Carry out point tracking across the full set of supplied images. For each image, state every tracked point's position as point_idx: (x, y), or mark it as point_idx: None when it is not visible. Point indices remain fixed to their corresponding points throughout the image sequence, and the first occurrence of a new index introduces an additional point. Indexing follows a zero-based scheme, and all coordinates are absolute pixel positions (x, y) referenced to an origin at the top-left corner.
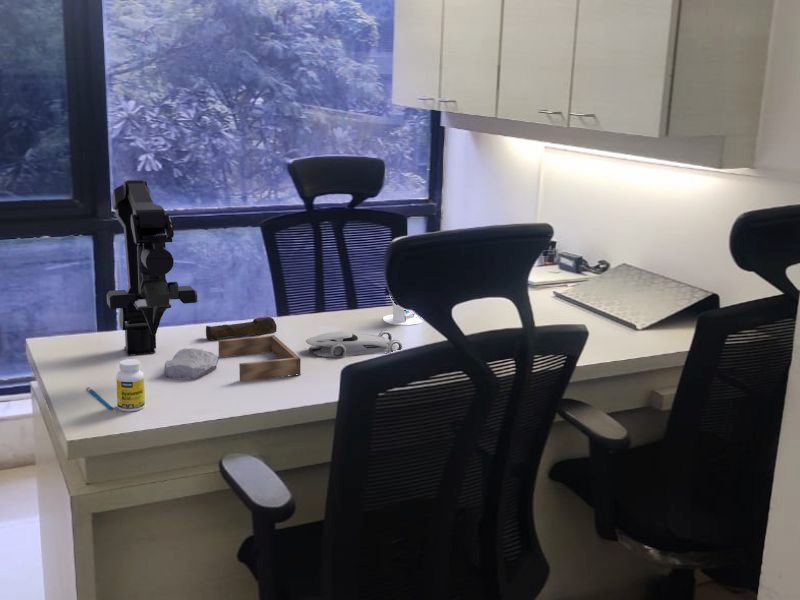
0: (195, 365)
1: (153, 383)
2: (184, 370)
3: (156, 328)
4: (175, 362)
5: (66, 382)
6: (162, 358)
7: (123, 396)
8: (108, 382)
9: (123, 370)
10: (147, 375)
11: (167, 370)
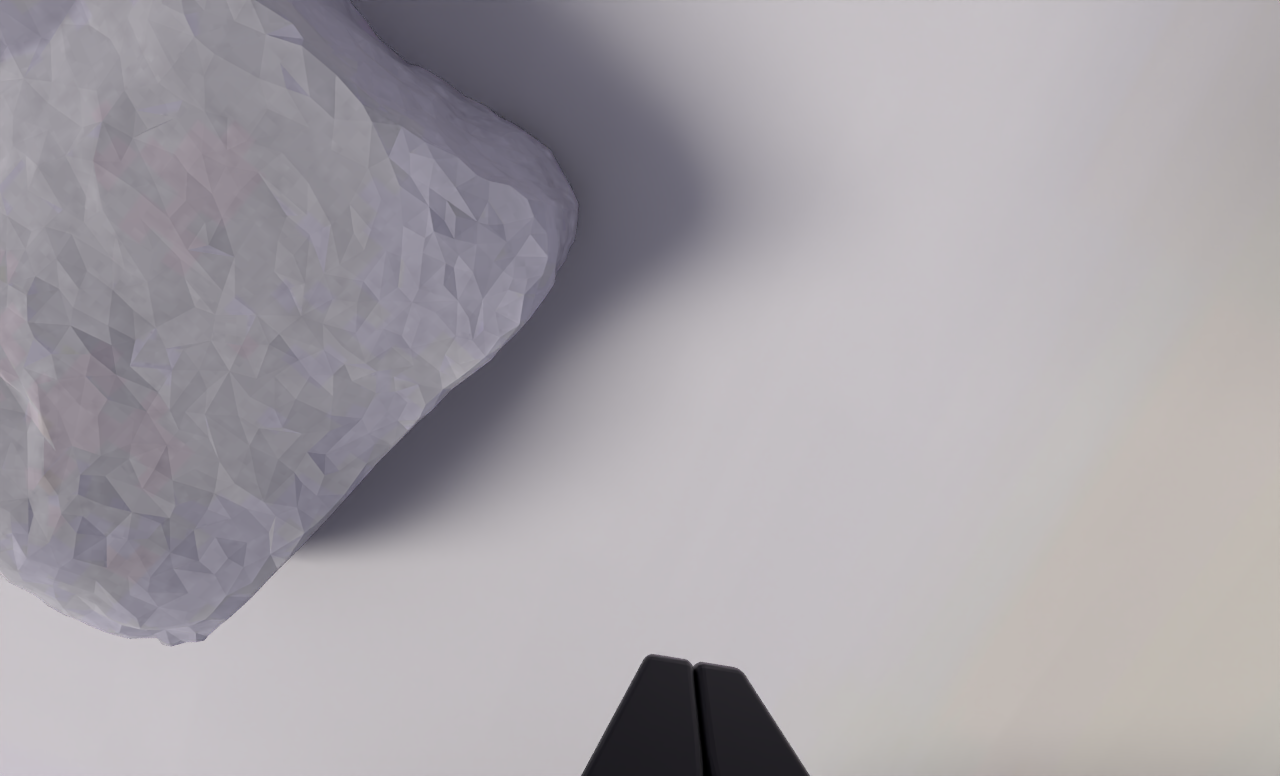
0: (120, 14)
1: (804, 40)
2: (329, 25)
3: (633, 760)
4: (393, 242)
5: None
6: (409, 740)
7: None
8: (1218, 352)
9: None
10: (737, 363)
11: (548, 189)
